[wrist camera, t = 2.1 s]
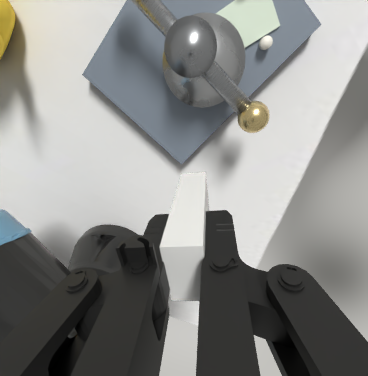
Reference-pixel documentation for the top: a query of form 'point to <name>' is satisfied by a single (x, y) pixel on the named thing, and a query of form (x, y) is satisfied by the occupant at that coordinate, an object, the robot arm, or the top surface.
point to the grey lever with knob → (205, 62)
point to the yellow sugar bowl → (6, 24)
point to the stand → (153, 64)
